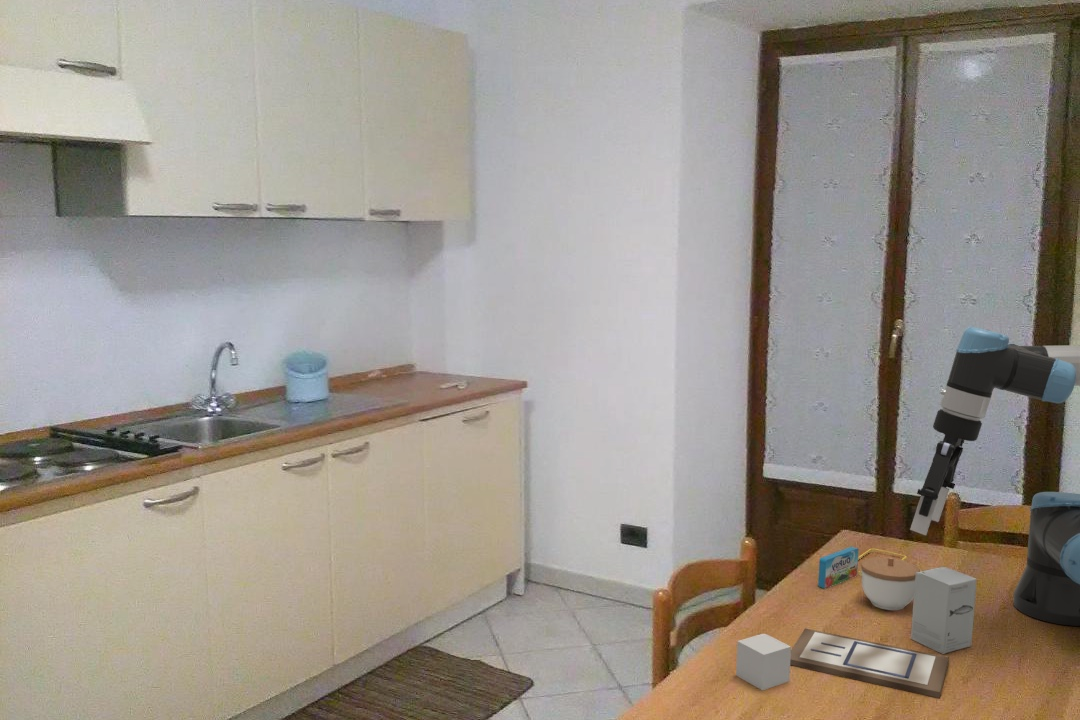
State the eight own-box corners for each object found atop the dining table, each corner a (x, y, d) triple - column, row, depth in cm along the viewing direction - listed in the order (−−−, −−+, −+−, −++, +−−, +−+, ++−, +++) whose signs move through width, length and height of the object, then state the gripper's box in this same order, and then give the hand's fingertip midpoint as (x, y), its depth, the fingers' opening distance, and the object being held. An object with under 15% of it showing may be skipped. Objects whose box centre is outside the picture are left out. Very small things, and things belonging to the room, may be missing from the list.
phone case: (907, 561, 214) (908, 555, 214) (880, 582, 201) (881, 576, 201) (870, 553, 219) (871, 547, 219) (842, 573, 206) (842, 567, 206)
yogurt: (824, 589, 196) (825, 560, 195) (818, 587, 197) (819, 558, 196) (857, 576, 204) (858, 548, 203) (850, 574, 205) (852, 546, 204)
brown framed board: (948, 663, 163) (949, 655, 163) (939, 698, 151) (940, 690, 151) (804, 633, 174) (805, 626, 174) (785, 663, 162) (785, 656, 162)
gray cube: (735, 676, 158) (737, 640, 157) (762, 667, 161) (763, 633, 160) (762, 690, 153) (764, 654, 152) (789, 681, 156) (791, 646, 155)
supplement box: (943, 655, 166) (949, 585, 164) (909, 639, 173) (914, 571, 171) (973, 647, 169) (978, 578, 168) (938, 631, 176) (943, 564, 174)
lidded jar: (908, 595, 193) (911, 550, 192) (924, 616, 183) (927, 569, 181) (853, 592, 194) (856, 547, 193) (866, 613, 184) (869, 566, 182)
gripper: (949, 403, 184) (916, 507, 187) (927, 412, 162) (890, 530, 166) (991, 415, 180) (956, 521, 184) (973, 426, 159) (934, 546, 162)
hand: (924, 525), depth 175 cm, fingers open, 13 cm apart
